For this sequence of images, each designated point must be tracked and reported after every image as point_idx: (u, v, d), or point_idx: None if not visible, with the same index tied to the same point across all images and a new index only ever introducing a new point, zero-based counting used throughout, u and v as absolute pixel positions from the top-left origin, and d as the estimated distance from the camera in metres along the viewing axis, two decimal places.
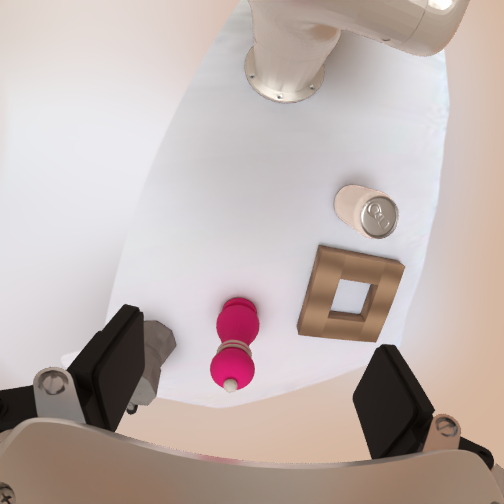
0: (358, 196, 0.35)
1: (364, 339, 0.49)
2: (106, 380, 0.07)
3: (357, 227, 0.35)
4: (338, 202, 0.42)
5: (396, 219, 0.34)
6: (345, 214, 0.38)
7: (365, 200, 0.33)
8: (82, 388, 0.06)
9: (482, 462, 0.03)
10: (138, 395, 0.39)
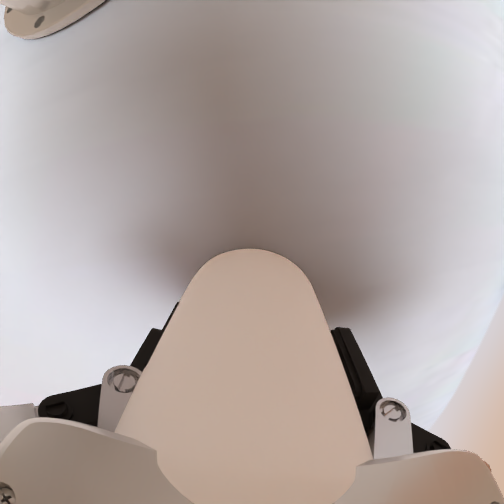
0: (123, 423, 0.04)
1: None
2: None
3: None
4: None
5: None
6: None
7: None
8: None
9: (482, 462, 0.03)
10: None
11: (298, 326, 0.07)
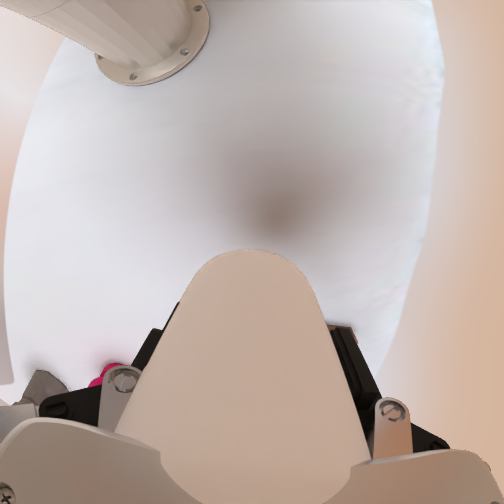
0: (123, 423, 0.04)
1: None
2: None
3: None
4: None
5: None
6: None
7: None
8: None
9: (482, 462, 0.03)
10: None
11: (296, 326, 0.07)
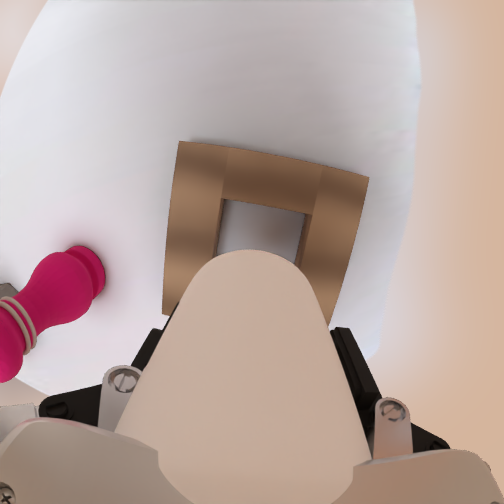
0: (122, 425, 0.04)
1: None
2: None
3: None
4: None
5: None
6: None
7: None
8: None
9: (482, 462, 0.03)
10: None
11: (297, 328, 0.07)
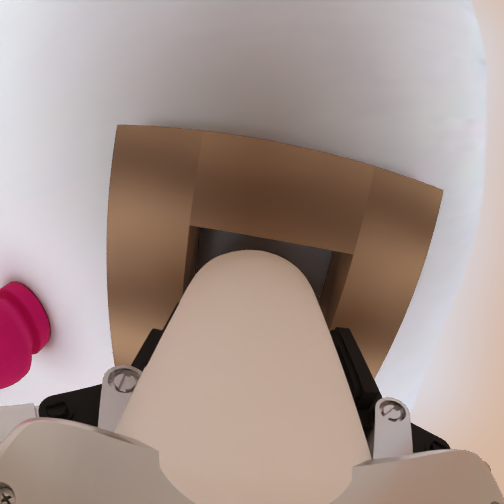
0: (122, 426, 0.04)
1: None
2: None
3: None
4: None
5: None
6: None
7: None
8: None
9: (482, 462, 0.03)
10: None
11: (297, 328, 0.07)
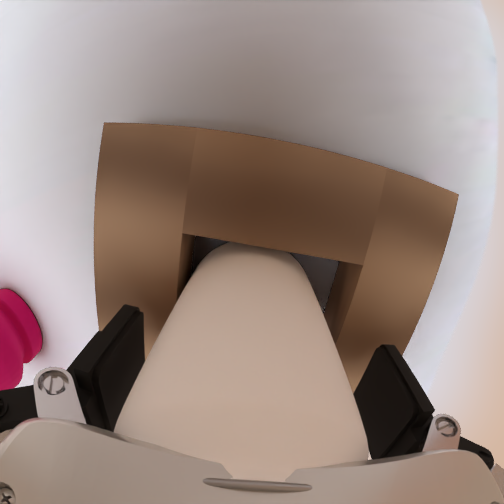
0: (137, 382, 0.06)
1: None
2: (106, 380, 0.07)
3: None
4: None
5: None
6: None
7: None
8: (82, 388, 0.06)
9: (482, 462, 0.03)
10: None
11: (288, 298, 0.08)
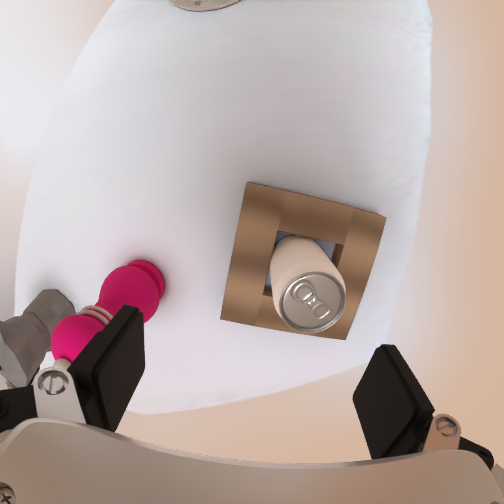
0: (284, 267, 0.24)
1: (326, 334, 0.33)
2: (106, 380, 0.07)
3: (279, 315, 0.24)
4: (270, 263, 0.31)
5: (342, 304, 0.23)
6: None
7: (289, 278, 0.23)
8: (82, 388, 0.06)
9: (482, 462, 0.03)
10: (10, 373, 0.23)
11: (319, 250, 0.27)
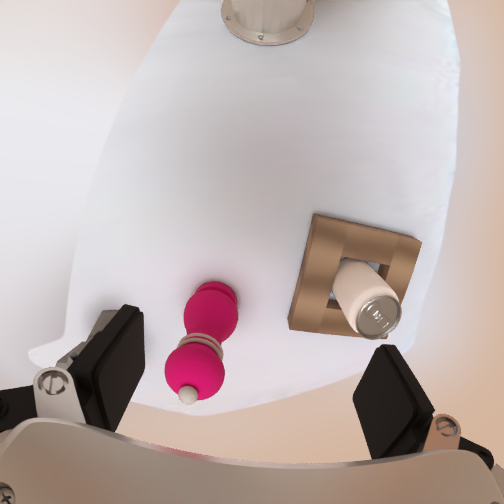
0: (356, 290, 0.30)
1: None
2: (106, 380, 0.07)
3: (352, 327, 0.30)
4: None
5: (397, 316, 0.28)
6: (340, 304, 0.33)
7: (363, 301, 0.28)
8: (82, 388, 0.06)
9: (482, 462, 0.03)
10: None
11: (376, 273, 0.33)
